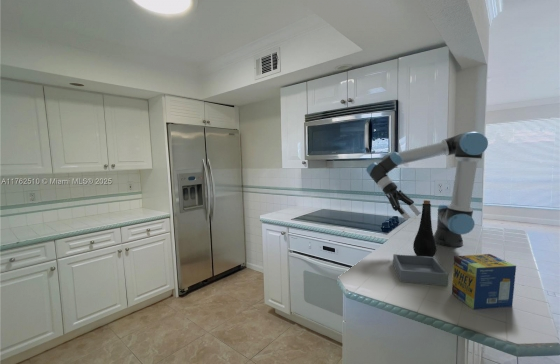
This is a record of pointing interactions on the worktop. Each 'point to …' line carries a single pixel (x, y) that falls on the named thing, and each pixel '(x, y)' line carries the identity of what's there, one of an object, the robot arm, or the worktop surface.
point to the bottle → (425, 234)
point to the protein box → (483, 281)
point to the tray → (420, 270)
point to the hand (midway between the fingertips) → (413, 216)
